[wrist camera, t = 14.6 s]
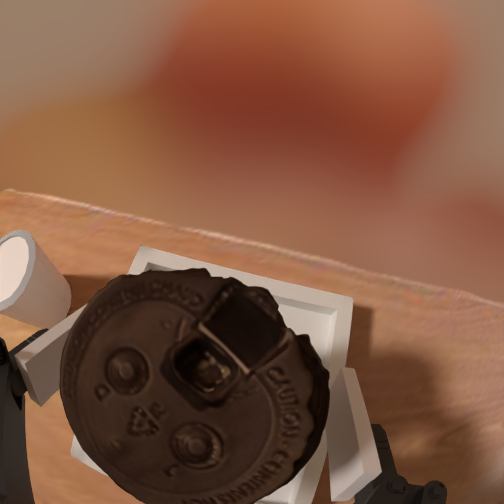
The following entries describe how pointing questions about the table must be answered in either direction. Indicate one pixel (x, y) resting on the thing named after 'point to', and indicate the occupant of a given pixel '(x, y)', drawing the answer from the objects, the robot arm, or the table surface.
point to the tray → (295, 317)
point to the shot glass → (31, 283)
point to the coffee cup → (192, 388)
